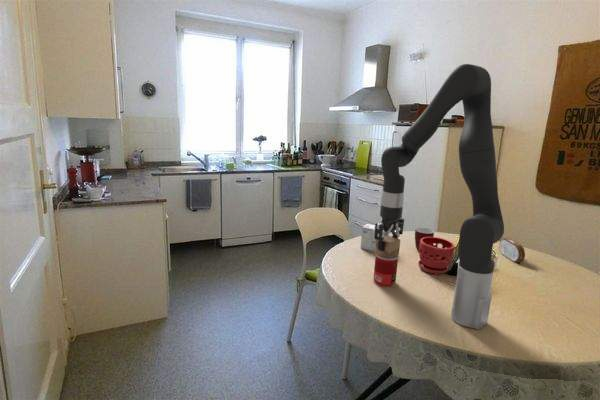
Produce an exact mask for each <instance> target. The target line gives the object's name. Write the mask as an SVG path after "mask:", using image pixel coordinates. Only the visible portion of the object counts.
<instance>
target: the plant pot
mask: <svg viewBox="0 0 600 400" xmlns="http://www.w3.org/2000/svg"><path fill="white" fill-rule="evenodd" d="M428 243H431V244H430V245H428ZM439 244H440V245H441V247H439V246H438V245H439ZM455 248H456V245H455V244H454V243H453V242H452V241H450V240H448V239H445V238H440V237H436V236H434V237H423V238H422V239H421V240H420V245H419V252H418V254H419V255H418V256H419V260H418V261H417V263H418V266H419V268H420V269H421V270H422V271H424V272H426V273H430V274H435V275H442V274H446V273H447V272H448V271H449V269H447V268H446V267H447V266H448V267H449V265H450V264H451V262H452V260H453V257H454V253H455Z"/></svg>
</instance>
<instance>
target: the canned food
mask: <svg viewBox="0 0 600 400" xmlns="http://www.w3.org/2000/svg"><path fill="white" fill-rule="evenodd" d="M398 263H399V255H398V256H396V257H393V258H390V259H387V258H385V257H382V256H379V255H377V254H375V259H374V270H373V271H374V272H373V282H374V283H375V284H376V285H377V286H380V287H386V288H390V287H393V286H395V284H396V282H397V281H396V280H397V272H398V271H397V270H398V265H399V264H398Z"/></svg>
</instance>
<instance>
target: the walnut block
mask: <svg viewBox="0 0 600 400" xmlns="http://www.w3.org/2000/svg"><path fill="white" fill-rule="evenodd" d="M382 238H383V236H382ZM400 247H401V239H399V238H398V239H397V238H394V237H392V235H389V236H387V237H386V239H385V247H384V251H379V250H378V240H376V249H375V252H374V254H375V255H376V254H377V255H379V256H382V257H385V258H387V259H390V258H393V257H396V256H398V257H399V256H400Z"/></svg>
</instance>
